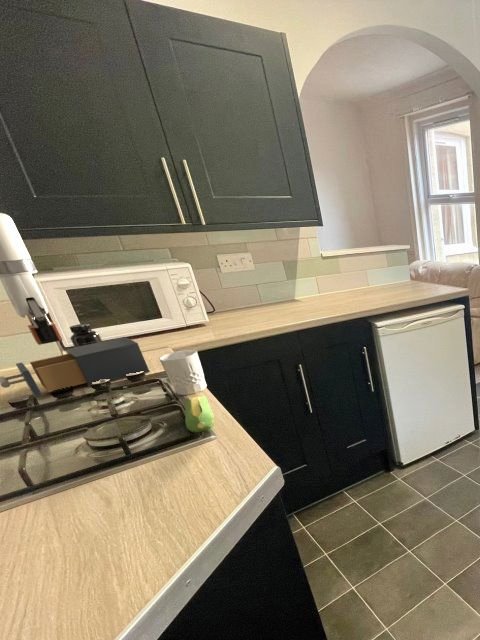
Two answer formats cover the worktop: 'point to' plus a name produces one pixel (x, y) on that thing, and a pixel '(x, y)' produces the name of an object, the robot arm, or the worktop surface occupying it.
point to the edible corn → (198, 414)
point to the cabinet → (109, 359)
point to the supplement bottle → (84, 335)
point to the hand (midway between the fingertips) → (48, 339)
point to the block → (32, 330)
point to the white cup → (184, 371)
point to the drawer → (49, 374)
